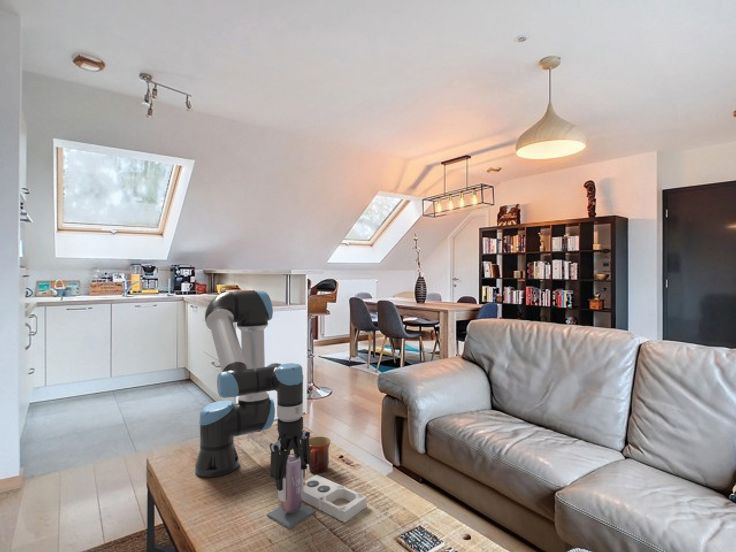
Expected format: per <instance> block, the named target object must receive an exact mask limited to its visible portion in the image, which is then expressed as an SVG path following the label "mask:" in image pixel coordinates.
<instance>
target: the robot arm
mask: <svg viewBox="0 0 736 552" xmlns="http://www.w3.org/2000/svg"><path fill="white" fill-rule="evenodd" d="M273 315H274V311H273V303H272V300H271V297H270V295H269V294H268V293H267V292H266V291H264V290H249V291H247V290H245V291H243V290H242V291H226V292H225V291H224V292H222V293H220V294H218V295H216V296H214V298H213V299H212V300H211V301H210V302H209V304H208V305H207V307H206V310H205V312H204V320H205V321H204V322H205V325H206V327H207V328H208V329H209V330H210V333H211V336H212V340H213V342H214V347H215V351H216V354H217V358H218V363H219V366H220V371H221V372H220V373H218V374H217V377H216V388H217V393H218V396H219V397H220V398H224V399H225V398H236V397H237V398H238V399H237V400H238V401H237V403H234V402H233V401H232V400H229V399H225V400H218V401H215V402H212V403H209V404H207V405H205V406H204V407H203V408H202V409H201V410H200V413H199V452H198V454H197V458H196V461H195V464H194V471H195V474H196V475H197V476H199V477H202V478H219V477H222V476H225V475H229V474H230V473H232V472H234V471H235V470H236V469H238V467H239V465H240V459H239V455H238V453H237V449H236V447H235V443H234V442H235V440H234V438H235V437H240V436H245V435H249V434H254V433H261V432H262V431H266V430H269V429H270V428H271V427H272V426H273V424H274V421H275V417H277V420H276V421H277V424H276V425H277V426H276V427H277V433H278V437H277V440H276V442H274V443H273V442H272V443H270V444H269V449H270V450H269V451H270V466H269V467H270V468H269V471H270V472H269V478H270V479H273V480H275V488H276V490H277V500H280V502H281V501H283V502H285V501H286V478H284V473H285V469H286V464H287V459H288V455H290V454H291V451H292V450H293V454H296V455H297V456H300V459H301V492H303V491H304V481H305V480H304V479H305V477H306V470H307V469H308V468H309V465H308V464H310V449H309V439H310V438H311V432H310V431H307V430H304V417H303V416H304V374H303V367H302V365H301V364H298V363H293V362H292V363H290V362H289V363H283V364H281V363H278V362H273V363H270V364H268V365H267V366H265V364H266V362H265V329H266V328H267V327H268V325H269V322H268V321H271V320H272V319H273ZM234 323H236V327H237V329H239V330H240V339H241V340H240V341H241V342H240V341H239V337H238V335H237V332H236V328H235V325H234ZM271 391H275V392H276V394H277V395H276V398H277V401H276V407H275V401H274V399H273V398H272V397H270V394H269V393H268V392H271ZM276 409H277V411H276ZM276 413H277V415H276Z"/></svg>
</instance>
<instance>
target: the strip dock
mask: <svg viewBox="0 0 736 552" xmlns="http://www.w3.org/2000/svg"><path fill="white" fill-rule="evenodd" d="M303 481H304V491H303V492H301V502H305V503H306V504H309V505H311V507H314V508H316V509H318V510H319V511H322V512H324V513H326V514H327V515H329V516H332V517H334V518H336V519H337V520H338V521H342V522H343V523H346V522H348V521H349V520H350V519H351V518H353V517H355V516H356V515H357V514H358V513H360V512H362V511H363V510H365V508H367V503H368V501H367V496H366V495H363V493H359V492H357V491H355V490H352V489H350V488H348V487H345V486H344V485H341V484H338V483H336V482H334V481H332V480H330V479H328V478H325V477H322V476H320V475H318V474H315V475H313V476H312V477H310V478H308V479H306V480H303ZM339 499H344V500H346V501H349V502H348V503H347V504H345V505H337V504H334V503H333V502H334V501H336V500H339Z"/></svg>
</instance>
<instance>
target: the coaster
mask: <svg viewBox="0 0 736 552" xmlns="http://www.w3.org/2000/svg"><path fill="white" fill-rule="evenodd" d="M315 513H316V510H315V509H313V508H311V507H309V506H307V505H306V504H303V503H302V505H301V507H300V509H299V510H298V511H296V512H293V513H286V512H284V511H283V510H282V508H281V505H280V506H279V507H277V508H275V509H274V510H272V511H270V512H268V513H267V514H266V516H267V517H268V518H270V519H271V520H273V521H275V522H276V523H278V524H280V525H281V526H283V527H285V528H286V529H288V530H290V529H293V527H295V526H297V525H299V524H300V523H302V522H303V521H305V520H306V519H308V518H309V517H312V515H314V514H315Z"/></svg>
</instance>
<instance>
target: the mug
mask: <svg viewBox="0 0 736 552" xmlns="http://www.w3.org/2000/svg"><path fill="white" fill-rule="evenodd" d="M330 444H331V439H330V438H329V437H327V436H319V435H318V436H313V437H309V449H310V464H307V466H308V469H309V471H310V472H311V473H315V474H321V473H324V472H325V471H327V470H328V469H329V464H330V455H329V448H330Z"/></svg>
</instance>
